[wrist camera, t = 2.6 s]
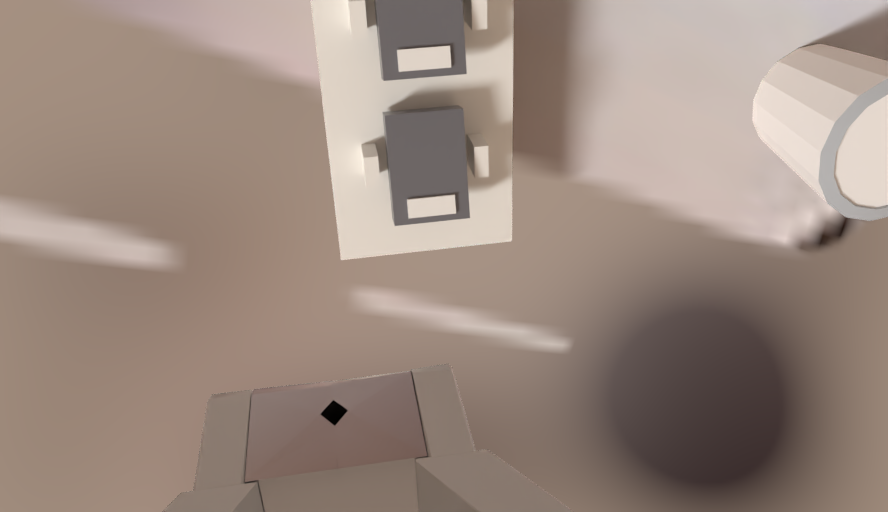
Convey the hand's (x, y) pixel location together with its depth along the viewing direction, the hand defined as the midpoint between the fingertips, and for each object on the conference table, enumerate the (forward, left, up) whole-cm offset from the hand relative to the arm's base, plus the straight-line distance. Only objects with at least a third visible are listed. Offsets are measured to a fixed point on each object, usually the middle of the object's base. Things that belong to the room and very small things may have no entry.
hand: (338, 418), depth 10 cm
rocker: (-4, +6, -22) cm, 24 cm away
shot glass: (-24, +7, -27) cm, 37 cm away
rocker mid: (-4, 0, -22) cm, 23 cm away
